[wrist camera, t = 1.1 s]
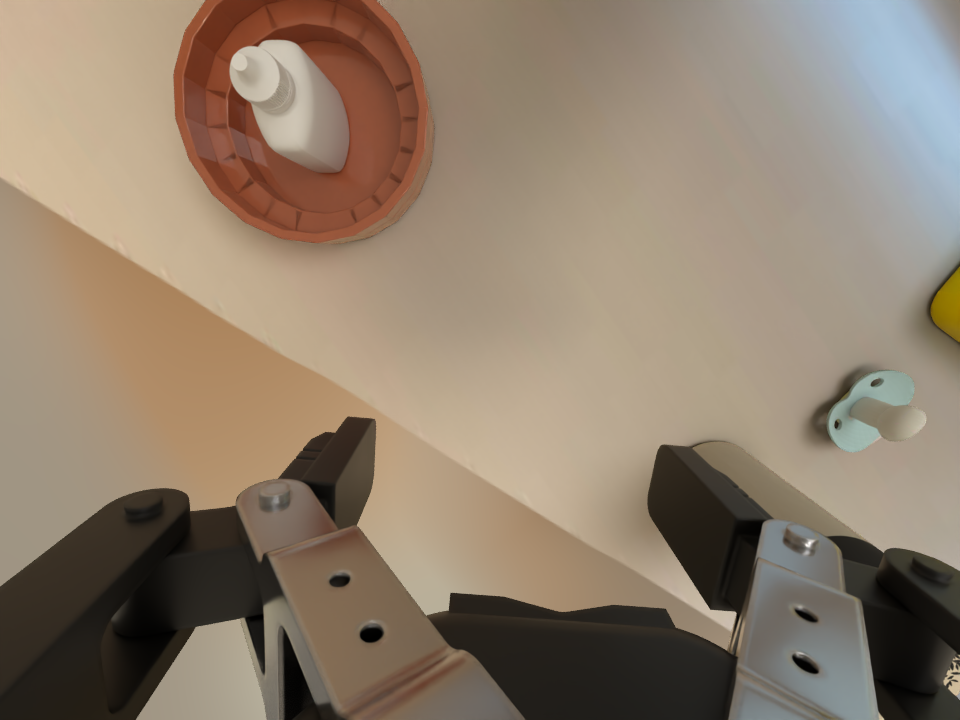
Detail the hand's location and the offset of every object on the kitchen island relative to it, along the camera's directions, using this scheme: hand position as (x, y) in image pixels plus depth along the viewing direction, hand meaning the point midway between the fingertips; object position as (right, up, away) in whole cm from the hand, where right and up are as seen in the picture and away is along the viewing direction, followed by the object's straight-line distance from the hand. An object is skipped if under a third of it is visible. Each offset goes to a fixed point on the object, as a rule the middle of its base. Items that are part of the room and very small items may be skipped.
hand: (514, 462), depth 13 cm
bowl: (-12, +19, +19) cm, 30 cm away
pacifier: (+31, -1, +25) cm, 40 cm away
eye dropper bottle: (-12, +19, +19) cm, 29 cm away
